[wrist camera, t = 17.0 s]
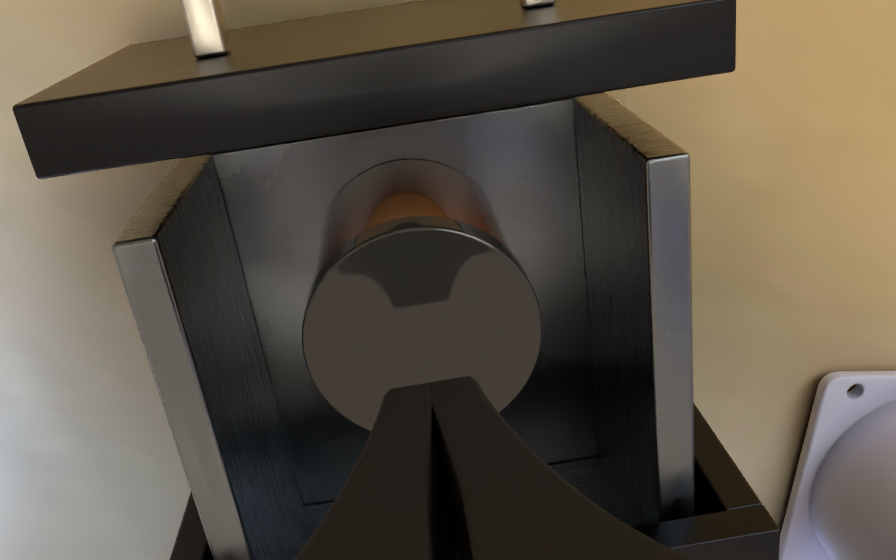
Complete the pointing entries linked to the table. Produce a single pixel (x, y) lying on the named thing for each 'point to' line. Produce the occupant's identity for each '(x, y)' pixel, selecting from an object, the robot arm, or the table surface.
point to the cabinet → (699, 537)
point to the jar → (416, 292)
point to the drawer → (364, 147)
